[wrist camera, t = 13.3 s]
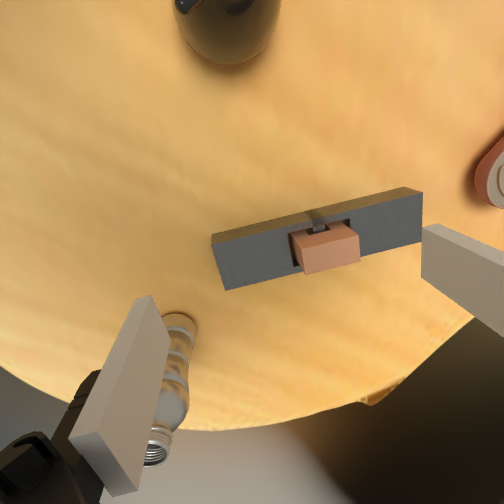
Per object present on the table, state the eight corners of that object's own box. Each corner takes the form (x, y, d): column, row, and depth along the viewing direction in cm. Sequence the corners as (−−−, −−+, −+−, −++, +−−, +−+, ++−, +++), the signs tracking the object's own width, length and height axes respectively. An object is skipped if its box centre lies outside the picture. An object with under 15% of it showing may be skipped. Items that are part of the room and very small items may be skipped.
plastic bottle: (146, 320, 45) (96, 452, 26) (183, 300, 44) (158, 422, 26) (169, 347, 47) (139, 485, 29) (205, 329, 47) (197, 458, 28)
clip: (290, 249, 43) (305, 274, 35) (286, 228, 41) (301, 249, 34) (336, 238, 43) (360, 260, 35) (333, 216, 41) (358, 235, 34)
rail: (224, 277, 43) (225, 290, 40) (212, 234, 40) (211, 244, 37) (404, 232, 44) (421, 241, 40) (404, 186, 41) (422, 192, 37)
